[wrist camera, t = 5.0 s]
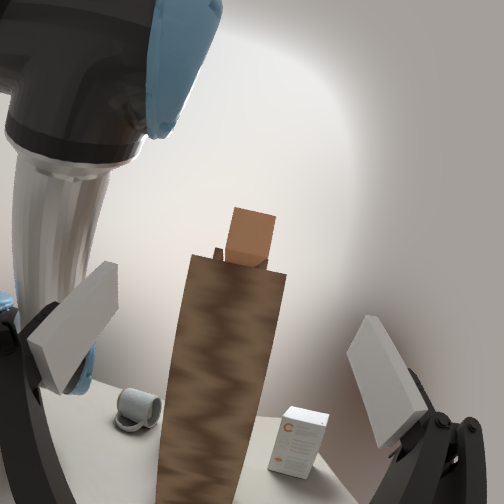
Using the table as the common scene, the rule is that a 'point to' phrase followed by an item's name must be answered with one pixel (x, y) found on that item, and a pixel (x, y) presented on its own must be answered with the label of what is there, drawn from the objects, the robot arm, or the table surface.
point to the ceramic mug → (138, 409)
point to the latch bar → (249, 237)
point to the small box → (298, 442)
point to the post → (216, 378)
